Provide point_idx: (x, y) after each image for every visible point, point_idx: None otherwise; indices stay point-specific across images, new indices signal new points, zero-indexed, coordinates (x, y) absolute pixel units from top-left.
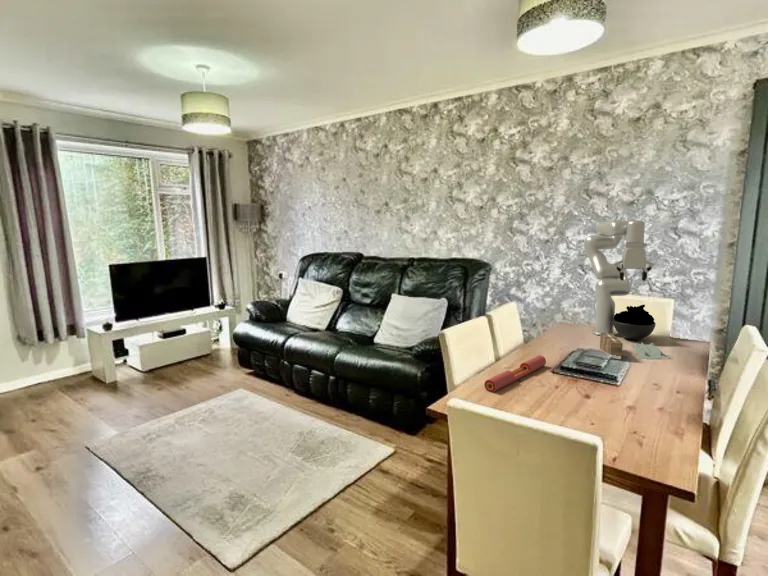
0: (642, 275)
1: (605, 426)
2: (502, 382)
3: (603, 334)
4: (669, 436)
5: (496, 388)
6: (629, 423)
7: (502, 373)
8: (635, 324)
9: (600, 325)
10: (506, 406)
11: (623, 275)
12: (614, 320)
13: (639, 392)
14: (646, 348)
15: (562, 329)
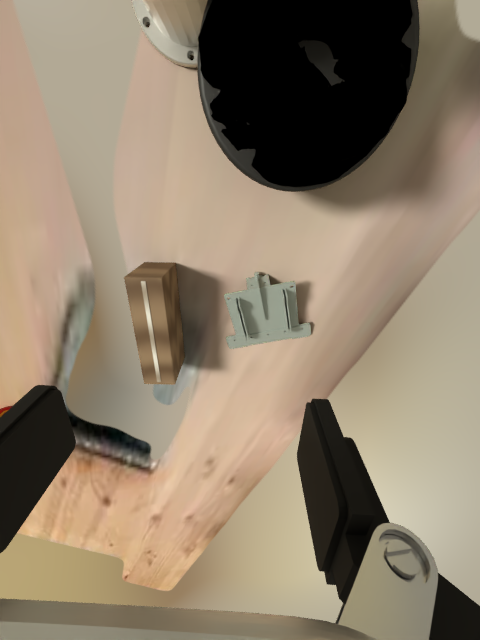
0: (320, 466)
1: (123, 547)
2: None
3: (131, 298)
4: (178, 554)
5: None
6: (147, 541)
7: None
8: (276, 183)
9: (149, 9)
10: None
11: (25, 511)
12: (201, 69)
13: (177, 486)
14: (262, 308)
15: None
